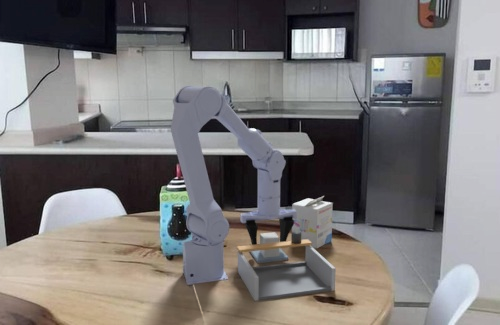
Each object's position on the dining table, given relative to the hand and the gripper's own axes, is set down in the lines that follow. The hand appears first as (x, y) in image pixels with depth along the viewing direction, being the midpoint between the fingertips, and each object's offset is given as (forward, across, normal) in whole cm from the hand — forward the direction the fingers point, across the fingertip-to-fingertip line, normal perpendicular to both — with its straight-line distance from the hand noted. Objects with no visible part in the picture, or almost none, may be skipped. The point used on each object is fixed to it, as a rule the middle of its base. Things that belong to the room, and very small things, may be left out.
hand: (268, 246), depth 115 cm
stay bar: (-3, -1, -8) cm, 9 cm away
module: (+2, 0, -1) cm, 2 cm away
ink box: (+3, +15, +7) cm, 17 cm away
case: (+3, -1, -15) cm, 15 cm away
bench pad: (+3, 0, 0) cm, 3 cm away
